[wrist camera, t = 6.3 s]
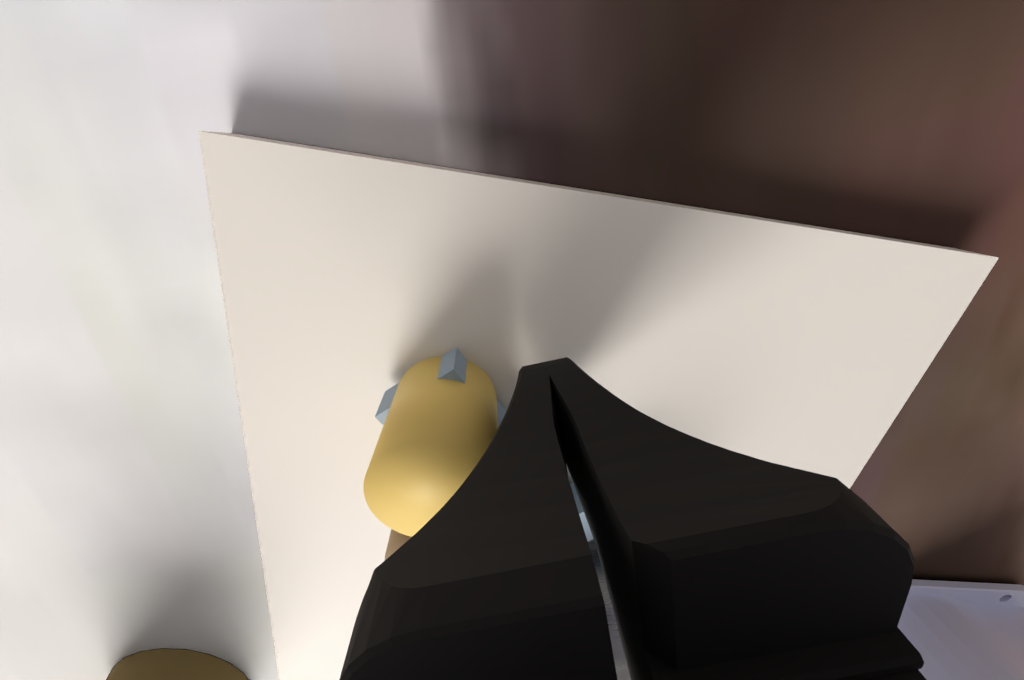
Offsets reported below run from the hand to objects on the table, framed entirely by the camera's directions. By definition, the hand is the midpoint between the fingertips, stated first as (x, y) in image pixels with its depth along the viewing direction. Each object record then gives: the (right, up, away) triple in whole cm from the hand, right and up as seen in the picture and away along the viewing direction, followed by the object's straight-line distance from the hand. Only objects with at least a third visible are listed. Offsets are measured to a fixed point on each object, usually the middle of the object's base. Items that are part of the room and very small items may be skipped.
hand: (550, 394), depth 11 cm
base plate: (0, -5, +5) cm, 7 cm away
